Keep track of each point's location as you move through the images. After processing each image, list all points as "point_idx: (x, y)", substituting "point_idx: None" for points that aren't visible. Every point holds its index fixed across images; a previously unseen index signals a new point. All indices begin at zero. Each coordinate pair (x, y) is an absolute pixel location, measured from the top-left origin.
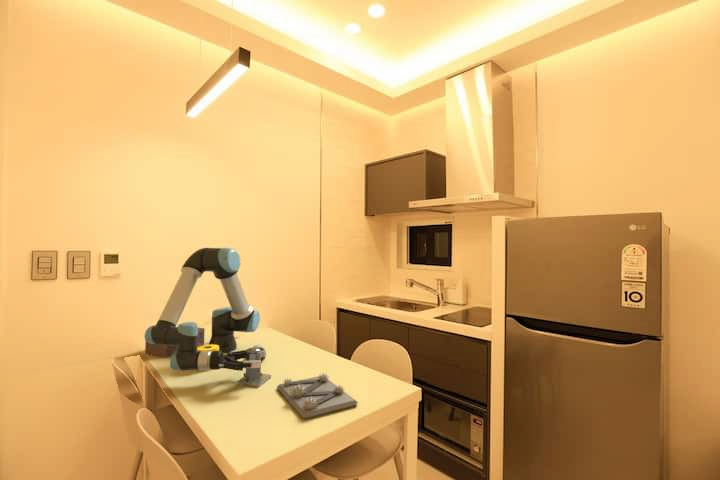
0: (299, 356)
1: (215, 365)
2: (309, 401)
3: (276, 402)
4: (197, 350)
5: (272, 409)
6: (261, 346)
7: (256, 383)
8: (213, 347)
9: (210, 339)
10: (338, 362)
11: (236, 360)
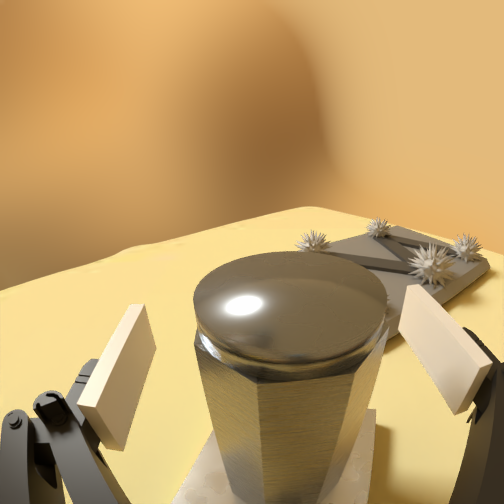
0: (18, 320)
1: None
2: (471, 242)
3: (463, 324)
4: None
5: (497, 319)
6: None
7: (375, 424)
8: None
9: None
10: (132, 258)
11: (496, 448)
